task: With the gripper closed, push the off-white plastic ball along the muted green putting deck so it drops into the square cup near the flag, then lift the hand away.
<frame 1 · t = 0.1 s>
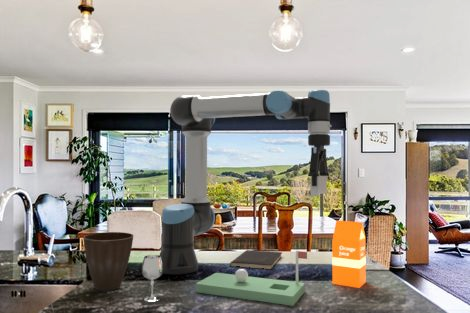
hand: (319, 194, 143), 28 cm above the worktop, fingers open, 13 cm apart
putting deck: (250, 291, 123), on the worktop
wineglass: (152, 300, 115), on the worktop
orange juice: (349, 283, 133), on the worktop
hardcover book: (257, 262, 163), on the worktop
plant pot: (108, 288, 126), on the worktop
ball: (241, 275, 124), point 4 cm above the worktop, touching putting deck
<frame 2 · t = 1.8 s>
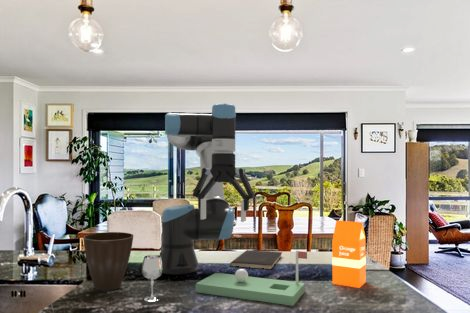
hand: (223, 220, 129), 21 cm above the worktop, fingers open, 13 cm apart
nothing on the worktop moved.
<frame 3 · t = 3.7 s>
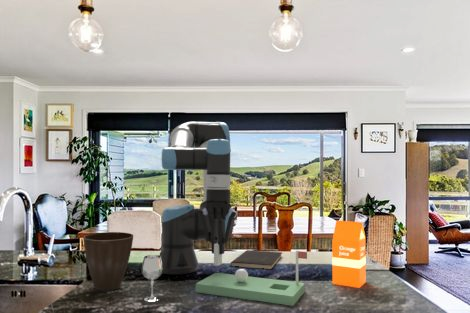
hand: (217, 264, 127), 7 cm above the worktop, fingers closed
nothing on the worktop moved.
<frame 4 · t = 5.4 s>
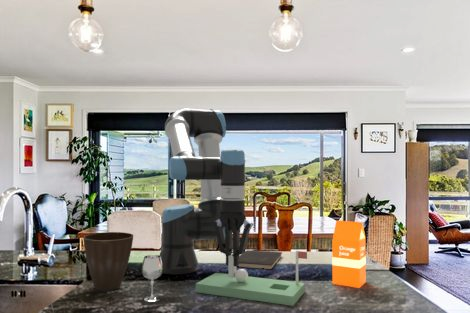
hand: (232, 276, 125), 4 cm above the worktop, fingers closed
nothing on the worktop moved.
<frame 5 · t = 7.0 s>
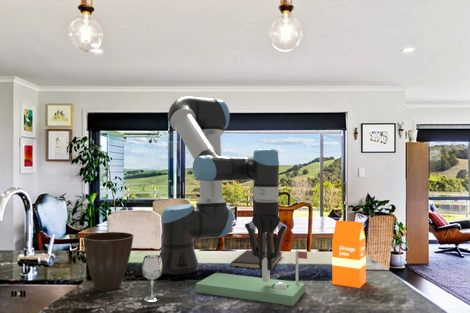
hand: (266, 280, 121), 4 cm above the worktop, fingers closed
ball: (280, 289, 119), point 2 cm above the worktop, tilted 39°
everything else where it was.
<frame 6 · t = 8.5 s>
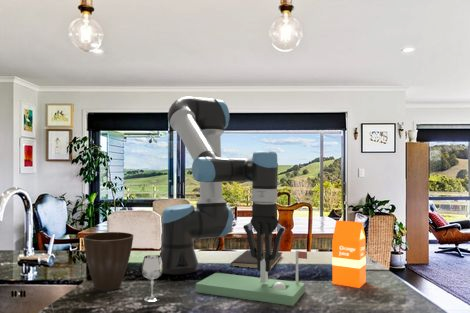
hand: (264, 281, 122), 3 cm above the worktop, fingers closed
ball: (279, 289, 119), point 2 cm above the worktop, tilted 28°
everything else where it was.
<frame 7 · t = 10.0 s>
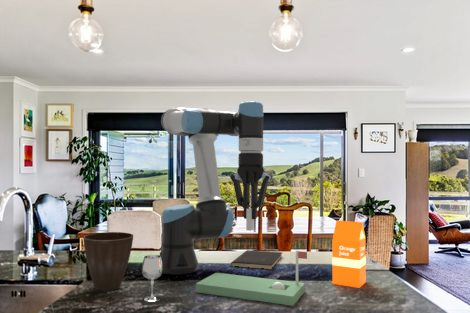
hand: (250, 229, 124), 18 cm above the worktop, fingers closed
ball: (278, 288, 119), point 2 cm above the worktop, tilted 17°
everything else where it was.
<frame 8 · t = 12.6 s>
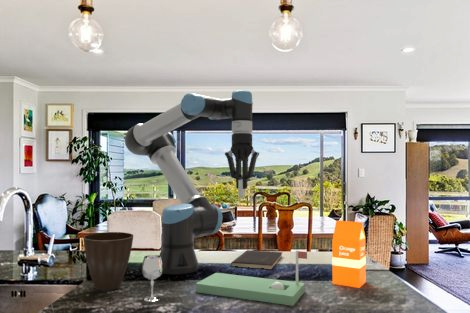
hand: (241, 197, 148), 26 cm above the worktop, fingers closed
ball: (277, 288, 119), point 2 cm above the worktop, tilted 11°
everything else where it was.
at the end: ball 0.6 cm from the target spot on the putting deck, point 2.0 cm above the putting deck's base; ball touching worktop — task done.
